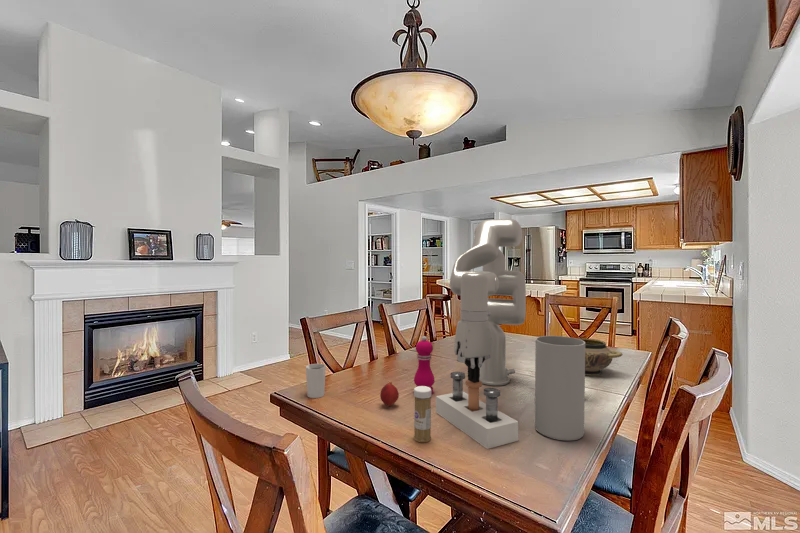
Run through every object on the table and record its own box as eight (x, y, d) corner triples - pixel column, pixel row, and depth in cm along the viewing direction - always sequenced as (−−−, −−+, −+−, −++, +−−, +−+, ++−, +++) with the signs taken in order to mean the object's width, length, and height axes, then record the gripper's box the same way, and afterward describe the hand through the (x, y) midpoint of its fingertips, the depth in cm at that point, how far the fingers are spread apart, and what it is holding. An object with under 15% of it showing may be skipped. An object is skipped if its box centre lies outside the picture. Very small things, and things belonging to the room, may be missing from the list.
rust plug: (475, 405, 112) (475, 378, 112) (484, 411, 108) (484, 382, 108) (462, 408, 110) (462, 380, 110) (471, 413, 106) (471, 385, 106)
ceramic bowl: (623, 380, 158) (624, 343, 160) (618, 380, 143) (620, 339, 146) (560, 370, 172) (562, 336, 174) (550, 369, 158) (552, 332, 160)
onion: (385, 411, 120) (385, 385, 119) (377, 404, 125) (377, 380, 124) (401, 407, 122) (401, 382, 122) (393, 401, 127) (393, 377, 127)
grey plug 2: (493, 415, 105) (493, 386, 105) (503, 422, 101) (504, 391, 101) (479, 418, 103) (480, 389, 103) (490, 425, 99) (490, 394, 99)
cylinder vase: (559, 445, 98) (560, 347, 97) (525, 425, 109) (525, 338, 108) (594, 436, 103) (596, 343, 102) (558, 418, 114) (559, 334, 113)
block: (463, 406, 123) (463, 391, 123) (518, 440, 100) (518, 421, 100) (435, 412, 119) (435, 396, 119) (487, 448, 96) (487, 429, 96)
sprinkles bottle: (410, 439, 101) (410, 388, 101) (420, 433, 105) (420, 384, 104) (424, 444, 98) (424, 392, 98) (434, 438, 102) (434, 387, 101)
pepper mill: (433, 397, 131) (433, 338, 131) (412, 395, 133) (412, 337, 132) (435, 389, 139) (435, 334, 138) (415, 388, 140) (415, 333, 139)
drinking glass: (316, 390, 138) (316, 362, 138) (329, 394, 134) (329, 365, 134) (302, 395, 133) (301, 367, 132) (315, 400, 129) (315, 370, 129)
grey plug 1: (459, 396, 120) (459, 370, 119) (468, 401, 116) (468, 374, 115) (447, 398, 118) (447, 372, 117) (455, 403, 114) (455, 376, 113)
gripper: (487, 313, 115) (486, 374, 116) (444, 316, 109) (444, 380, 109) (503, 316, 108) (503, 381, 109) (459, 320, 102) (458, 389, 102)
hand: (473, 380), depth 109 cm, fingers closed
